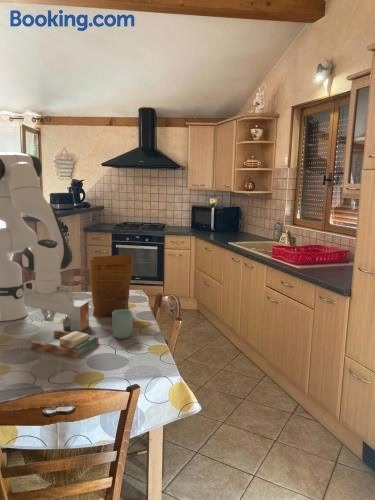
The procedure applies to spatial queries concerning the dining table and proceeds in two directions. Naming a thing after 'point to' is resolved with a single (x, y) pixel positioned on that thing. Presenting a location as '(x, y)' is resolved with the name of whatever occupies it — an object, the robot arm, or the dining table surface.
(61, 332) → the bay
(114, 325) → the cup
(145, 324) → the dining table surface
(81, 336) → the tan tapered block
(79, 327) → the small box
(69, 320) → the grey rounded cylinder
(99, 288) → the pancake mix bag
